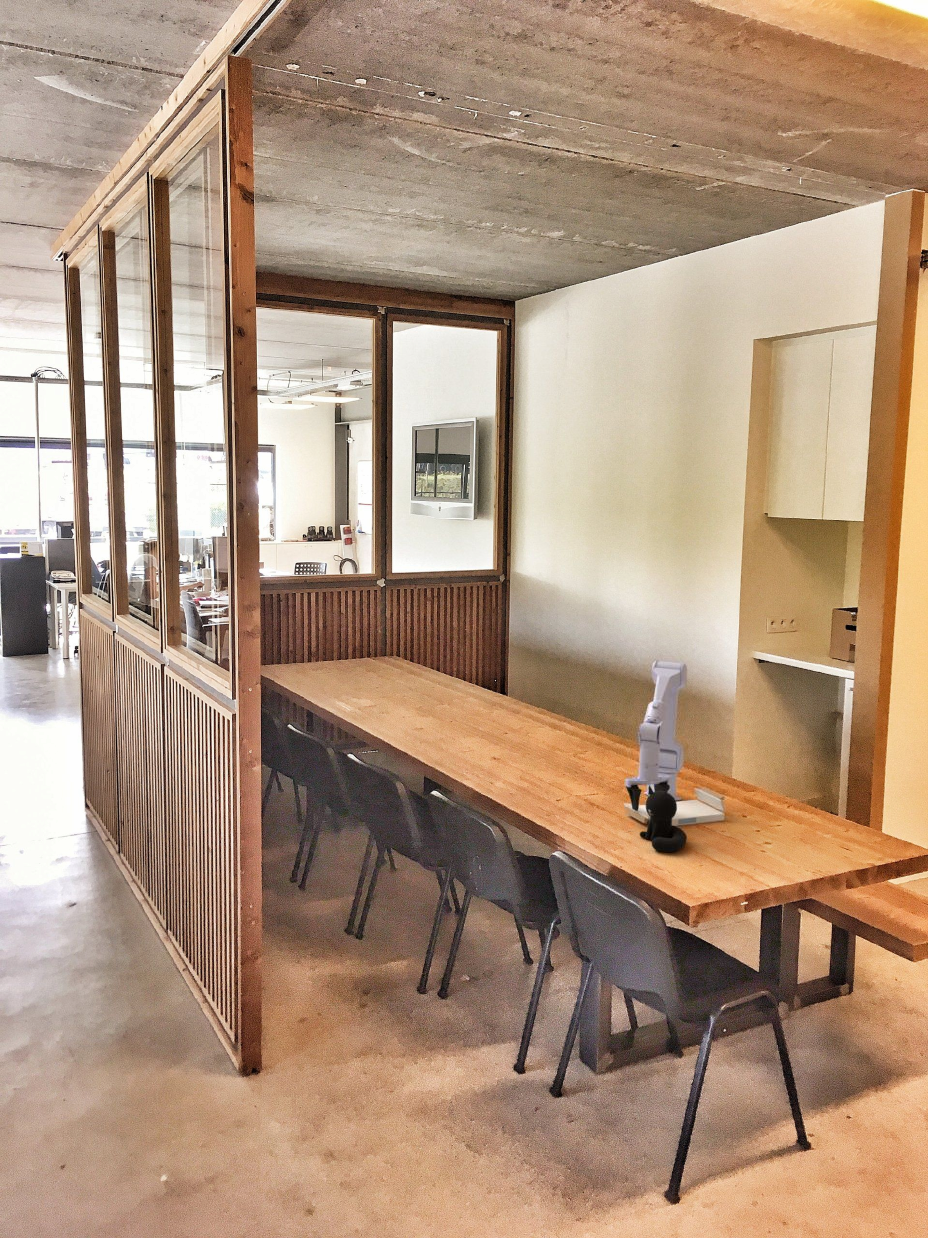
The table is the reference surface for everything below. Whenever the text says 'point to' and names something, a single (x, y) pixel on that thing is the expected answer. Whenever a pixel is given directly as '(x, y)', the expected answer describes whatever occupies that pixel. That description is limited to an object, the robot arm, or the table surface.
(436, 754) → the table surface
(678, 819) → the carton
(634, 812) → the near flap
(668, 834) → the figurine
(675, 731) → the robot arm
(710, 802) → the far flap
